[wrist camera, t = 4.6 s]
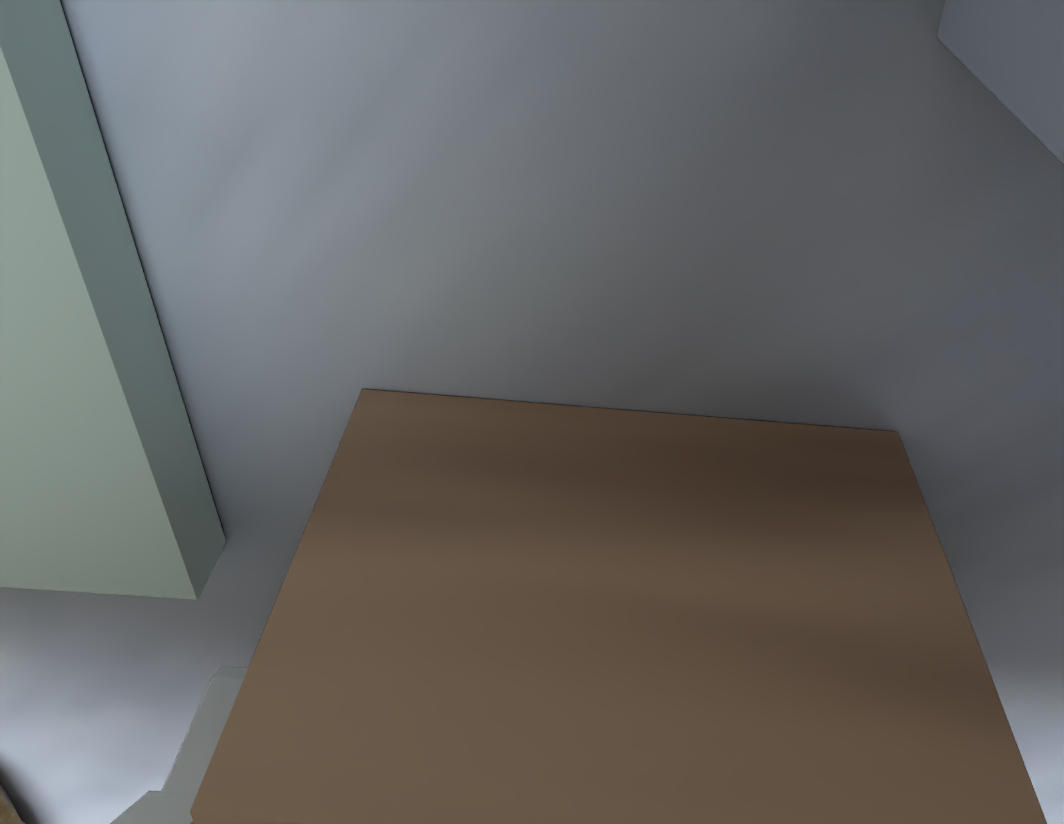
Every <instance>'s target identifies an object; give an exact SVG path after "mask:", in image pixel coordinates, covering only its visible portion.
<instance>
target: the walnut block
mask: <svg viewBox="0 0 1064 824" xmlns="http://www.w3.org/2000/svg"><path fill="white" fill-rule="evenodd" d="M190 814H191V816H192V819H193V821H194V824H1047V822H1046V820H1045V817H1044V814H1043V812H1042V809H1041V806H1040V804H1039V801H1038V798H1037V796H1036V793H1035V791H1034V788H1033V785H1032V783H1031V780H1030V777H1029V775H1028V772H1027V770H1026V767H1025V764H1024V762H1023V759H1022V756H1021V754H1020V751H1019V748H1018V746H1017V743H1016V741H1015V738H1014V735H1013V733H1012V730H1011V727H1010V725H1009V722H1008V720H1007V717H1006V714H1005V712H1004V709H1003V706H1002V704H1001V701H1000V698H999V696H998V693H997V691H996V688H995V685H994V683H993V680H992V677H991V675H990V672H989V670H988V667H987V664H986V662H985V659H984V656H983V654H982V651H981V649H980V646H979V643H978V641H977V638H976V635H975V633H974V630H973V627H972V625H971V622H970V620H969V617H968V614H967V612H966V609H965V606H964V604H963V601H962V599H961V596H960V593H959V591H958V588H957V585H956V583H955V580H954V577H953V575H952V572H951V570H950V567H949V564H948V562H947V559H946V556H945V554H944V551H943V549H942V546H941V543H940V541H939V538H938V535H937V533H936V530H935V528H934V525H933V522H932V520H931V517H930V514H929V512H928V509H927V506H926V504H925V501H924V499H923V496H922V493H921V491H920V488H919V485H918V483H917V480H916V478H915V475H914V472H913V470H912V467H911V464H910V462H909V459H908V456H907V454H906V451H905V449H904V446H903V443H902V441H901V438H900V435H899V433H898V432H892V431H880V430H867V429H855V428H842V427H830V426H817V425H805V424H792V423H780V422H767V421H755V420H742V419H730V418H717V417H705V416H692V415H680V414H667V413H655V412H642V411H630V410H617V409H605V408H592V407H579V406H567V405H554V404H542V403H529V402H517V401H504V400H492V399H479V398H467V397H454V396H442V395H429V394H417V393H404V392H392V391H379V390H367V389H362V390H361V392H360V395H359V397H358V400H357V402H356V405H355V407H354V410H353V412H352V415H351V417H350V419H349V422H348V424H347V427H346V429H345V432H344V434H343V437H342V439H341V442H340V444H339V446H338V449H337V451H336V454H335V456H334V459H333V461H332V464H331V466H330V469H329V471H328V473H327V476H326V478H325V481H324V483H323V486H322V488H321V491H320V493H319V496H318V498H317V500H316V503H315V505H314V508H313V510H312V513H311V515H310V518H309V520H308V523H307V525H306V527H305V530H304V532H303V535H302V537H301V540H300V542H299V545H298V547H297V550H296V552H295V554H294V557H293V559H292V562H291V564H290V567H289V569H288V572H287V574H286V577H285V579H284V581H283V584H282V586H281V589H280V591H279V594H278V596H277V599H276V601H275V604H274V606H273V608H272V611H271V613H270V616H269V618H268V621H267V623H266V626H265V628H264V631H263V633H262V635H261V638H260V640H259V643H258V645H257V648H256V650H255V653H254V655H253V658H252V660H251V662H250V665H249V667H248V670H247V672H246V675H245V677H244V680H243V682H242V685H241V687H240V689H239V692H238V694H237V697H236V699H235V702H234V704H233V707H232V709H231V712H230V714H229V716H228V719H227V721H226V724H225V726H224V729H223V731H222V734H221V736H220V739H219V741H218V743H217V746H216V748H215V751H214V753H213V756H212V758H211V761H210V763H209V766H208V768H207V770H206V773H205V775H204V778H203V780H202V783H201V785H200V788H199V790H198V793H197V795H196V797H195V800H194V802H193V805H192V807H191V810H190Z"/></svg>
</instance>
